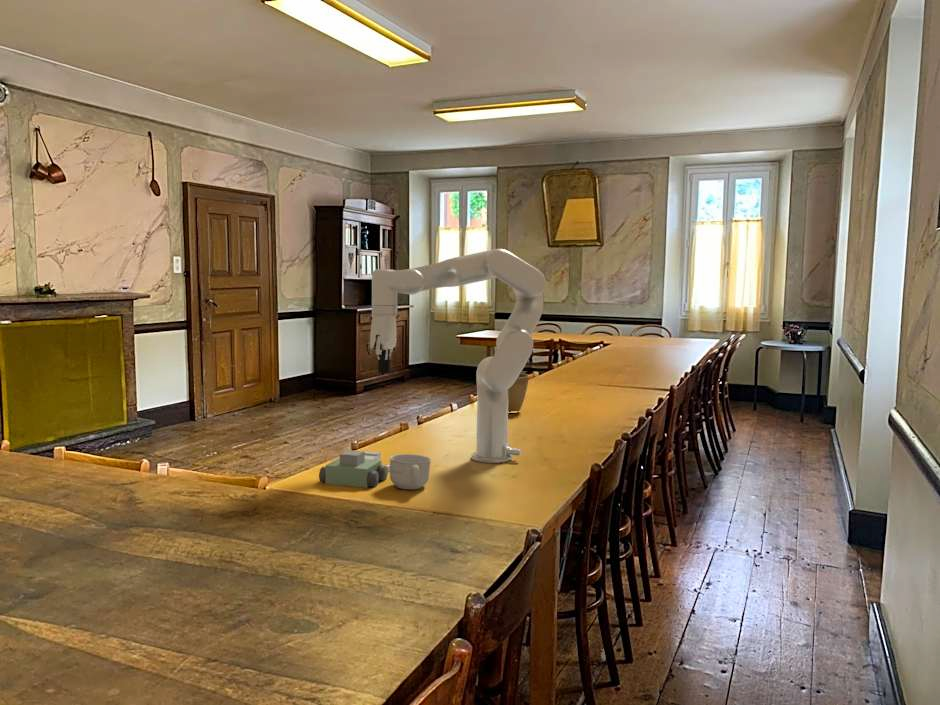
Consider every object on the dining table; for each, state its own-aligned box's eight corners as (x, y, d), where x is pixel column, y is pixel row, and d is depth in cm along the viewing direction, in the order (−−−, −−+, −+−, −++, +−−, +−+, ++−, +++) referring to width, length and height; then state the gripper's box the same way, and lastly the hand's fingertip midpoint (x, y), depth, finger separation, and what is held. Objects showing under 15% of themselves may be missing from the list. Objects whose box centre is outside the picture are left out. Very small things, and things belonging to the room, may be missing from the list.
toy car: (398, 470, 207) (398, 443, 207) (373, 488, 189) (373, 458, 188) (348, 466, 211) (348, 439, 211) (319, 483, 193) (318, 454, 192)
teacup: (390, 481, 196) (390, 452, 196) (430, 481, 197) (430, 452, 196) (388, 496, 183) (388, 465, 182) (431, 496, 183) (431, 465, 183)
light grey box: (380, 471, 207) (380, 452, 207) (371, 477, 200) (371, 458, 200) (363, 469, 209) (363, 451, 208) (353, 475, 202) (352, 456, 201)
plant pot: (486, 410, 306) (487, 373, 305) (517, 408, 313) (518, 371, 311) (502, 416, 293) (503, 377, 291) (534, 414, 299) (535, 376, 298)
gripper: (382, 310, 221) (382, 369, 223) (362, 311, 207) (362, 375, 208) (405, 310, 219) (405, 370, 221) (387, 312, 205) (386, 376, 207)
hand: (384, 372), depth 215 cm, fingers closed
